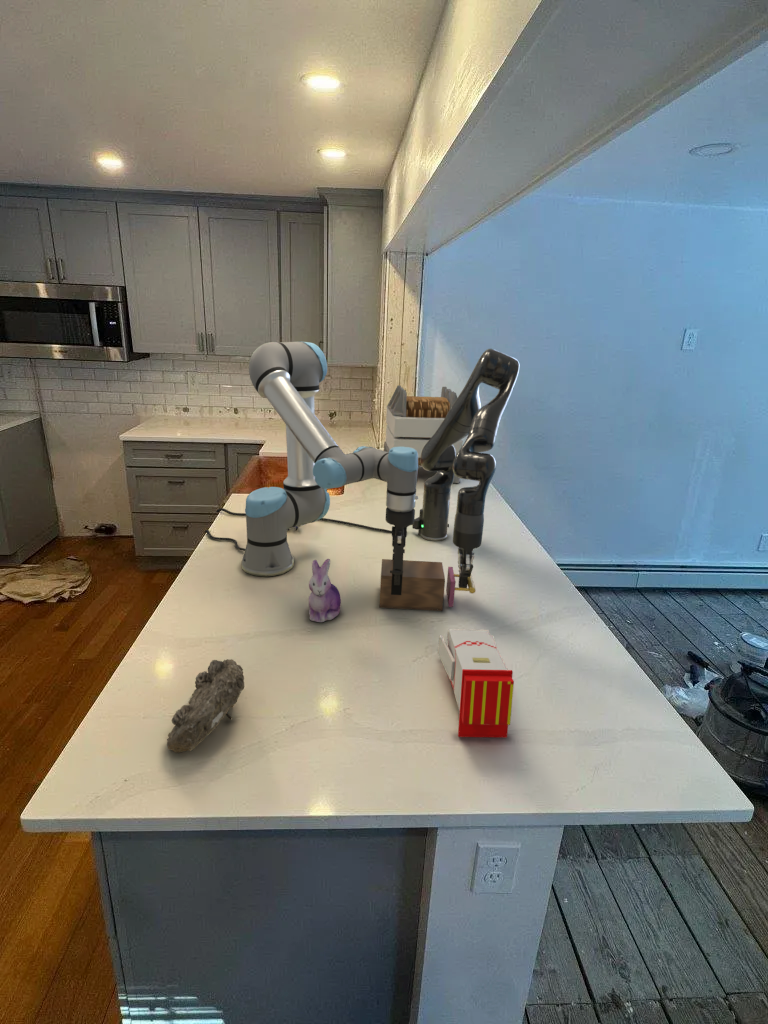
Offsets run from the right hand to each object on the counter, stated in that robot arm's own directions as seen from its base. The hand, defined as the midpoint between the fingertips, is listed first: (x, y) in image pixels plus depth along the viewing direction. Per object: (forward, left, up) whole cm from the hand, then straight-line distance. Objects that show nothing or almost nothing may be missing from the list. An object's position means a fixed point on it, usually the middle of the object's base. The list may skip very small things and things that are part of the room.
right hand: (462, 587), depth 153 cm
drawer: (-6, -4, -4) cm, 9 cm away
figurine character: (-73, +12, -5) cm, 74 cm away
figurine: (-24, -28, -5) cm, 38 cm away
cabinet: (-12, -8, -5) cm, 15 cm away
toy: (+20, -33, -5) cm, 39 cm away
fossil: (-16, -71, -5) cm, 73 cm away
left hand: (-15, -10, 0) cm, 18 cm away
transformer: (-77, +102, -5) cm, 128 cm away
